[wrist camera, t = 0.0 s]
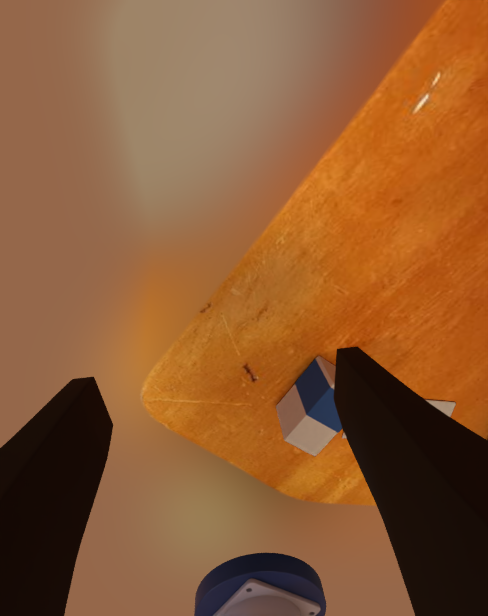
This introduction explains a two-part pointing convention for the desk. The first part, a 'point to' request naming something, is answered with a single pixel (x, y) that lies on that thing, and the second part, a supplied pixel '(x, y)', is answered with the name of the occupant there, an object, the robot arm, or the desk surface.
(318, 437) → the eraser
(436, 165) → the desk surface
